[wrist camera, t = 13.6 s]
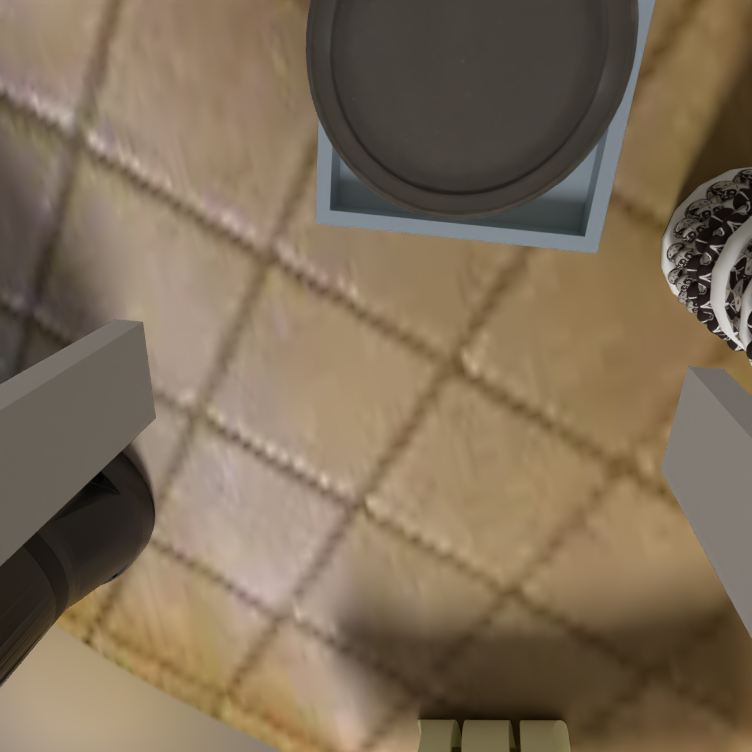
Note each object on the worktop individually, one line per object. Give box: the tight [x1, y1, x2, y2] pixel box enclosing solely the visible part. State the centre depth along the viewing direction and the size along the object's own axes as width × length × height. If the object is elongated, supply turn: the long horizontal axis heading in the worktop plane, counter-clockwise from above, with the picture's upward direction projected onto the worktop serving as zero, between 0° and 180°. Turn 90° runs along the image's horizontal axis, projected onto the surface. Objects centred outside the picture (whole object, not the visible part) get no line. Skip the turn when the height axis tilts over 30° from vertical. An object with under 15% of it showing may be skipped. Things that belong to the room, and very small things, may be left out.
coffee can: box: [306, 0, 639, 220], centre depth 25 cm, size 10×10×14 cm
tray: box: [316, 0, 655, 253], centre depth 31 cm, size 16×16×3 cm
